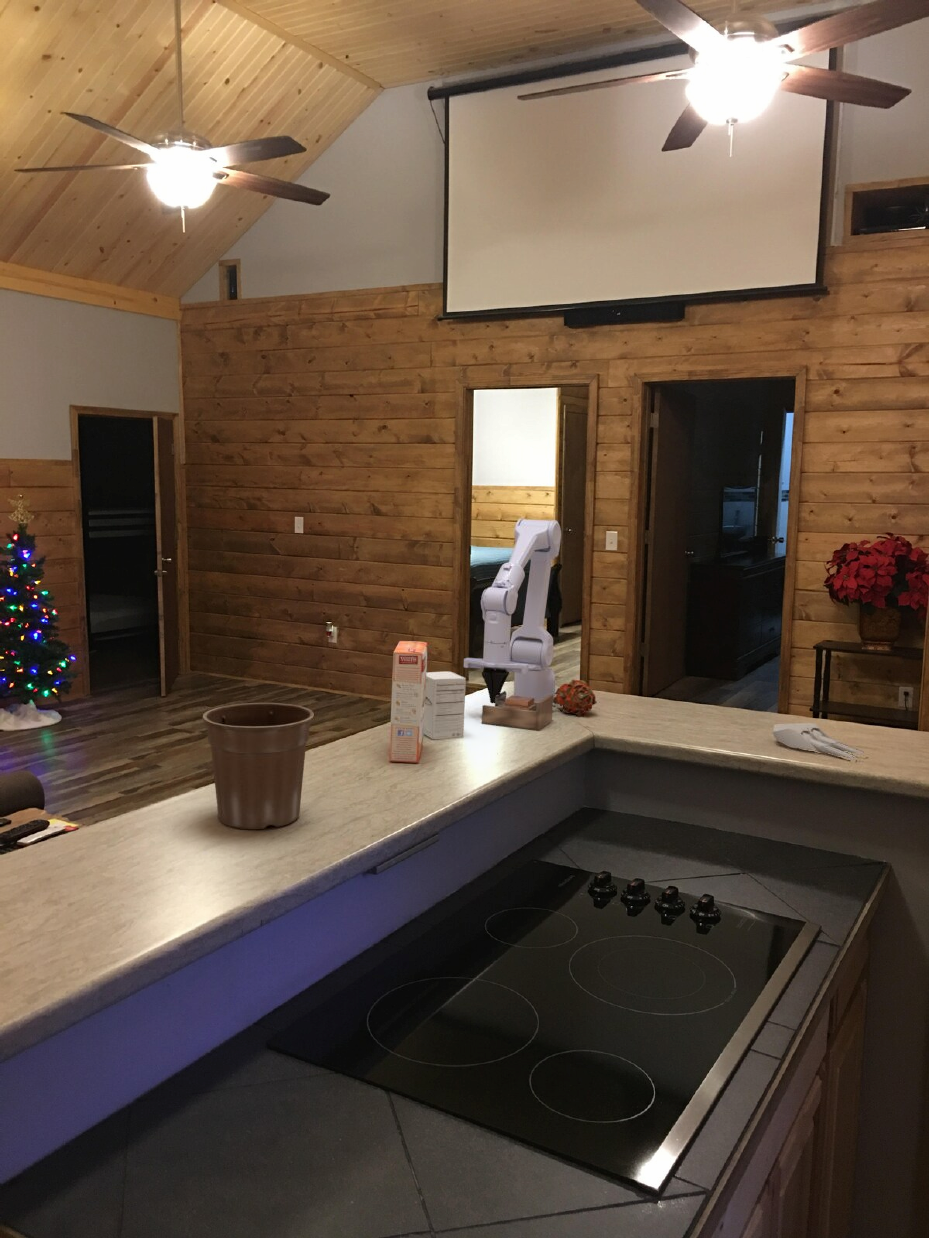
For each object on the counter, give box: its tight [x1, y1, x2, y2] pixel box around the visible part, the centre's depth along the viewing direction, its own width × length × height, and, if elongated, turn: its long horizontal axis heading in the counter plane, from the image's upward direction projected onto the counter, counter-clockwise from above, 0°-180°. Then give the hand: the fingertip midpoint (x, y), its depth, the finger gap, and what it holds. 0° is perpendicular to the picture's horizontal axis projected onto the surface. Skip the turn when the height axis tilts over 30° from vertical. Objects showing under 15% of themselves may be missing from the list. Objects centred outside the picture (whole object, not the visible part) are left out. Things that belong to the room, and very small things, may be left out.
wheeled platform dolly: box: [494, 690, 536, 711], centre depth 220 cm, size 8×8×5 cm
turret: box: [772, 722, 866, 759], centre depth 207 cm, size 10×20×5 cm, turn 43°
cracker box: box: [388, 640, 428, 764], centre depth 190 cm, size 14×6×21 cm, turn 179°
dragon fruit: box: [553, 679, 597, 716], centre depth 233 cm, size 8×8×12 cm
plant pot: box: [202, 702, 315, 830], centre depth 151 cm, size 16×16×16 cm
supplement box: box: [423, 671, 467, 740], centre depth 207 cm, size 7×7×13 cm
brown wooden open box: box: [481, 695, 553, 732], centre depth 220 cm, size 13×10×6 cm
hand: (494, 702), depth 222 cm, fingers closed
